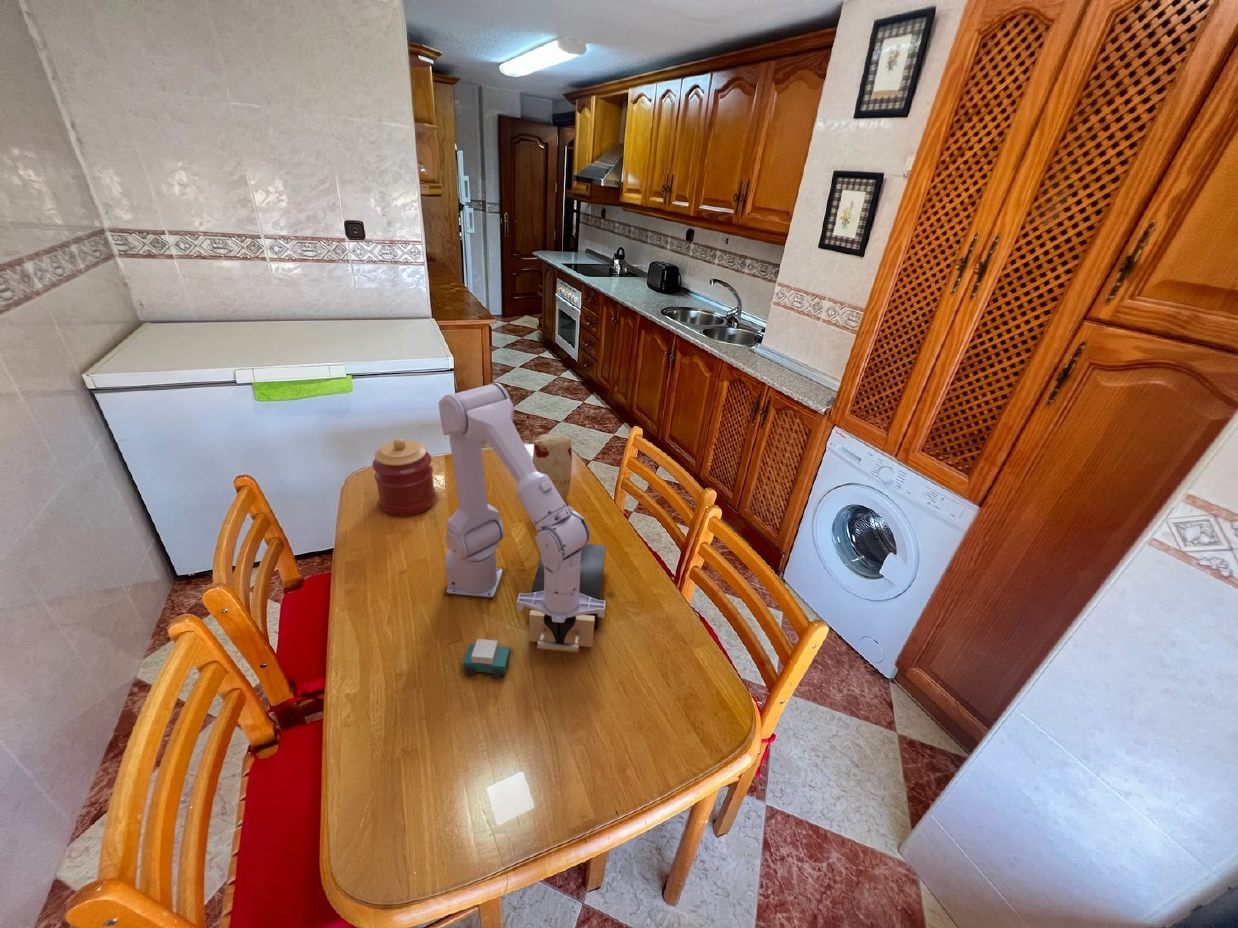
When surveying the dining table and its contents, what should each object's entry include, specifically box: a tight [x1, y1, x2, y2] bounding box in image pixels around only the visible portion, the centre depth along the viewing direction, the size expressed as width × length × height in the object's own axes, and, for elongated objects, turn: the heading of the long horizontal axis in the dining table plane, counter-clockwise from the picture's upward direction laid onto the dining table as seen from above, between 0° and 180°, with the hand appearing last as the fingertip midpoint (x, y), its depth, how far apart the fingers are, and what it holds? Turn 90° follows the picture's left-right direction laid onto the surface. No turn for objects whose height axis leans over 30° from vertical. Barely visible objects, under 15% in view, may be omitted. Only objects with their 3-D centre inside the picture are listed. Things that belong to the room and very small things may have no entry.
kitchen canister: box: [371, 438, 437, 517], centre depth 119 cm, size 13×13×18 cm
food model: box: [532, 433, 573, 504], centre depth 123 cm, size 10×7×20 cm
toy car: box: [462, 638, 511, 679], centre depth 85 cm, size 7×5×4 cm
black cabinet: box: [530, 543, 607, 631], centre depth 98 cm, size 15×13×9 cm
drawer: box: [528, 609, 595, 654], centre depth 92 cm, size 18×11×7 cm, turn 177°
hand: (560, 639), depth 86 cm, fingers closed, pressing on drawer
